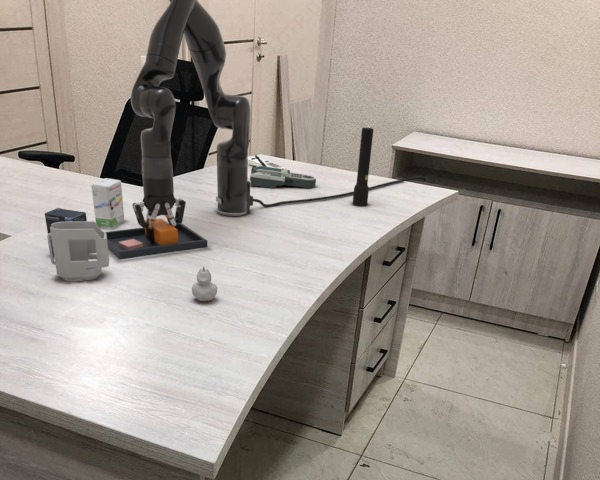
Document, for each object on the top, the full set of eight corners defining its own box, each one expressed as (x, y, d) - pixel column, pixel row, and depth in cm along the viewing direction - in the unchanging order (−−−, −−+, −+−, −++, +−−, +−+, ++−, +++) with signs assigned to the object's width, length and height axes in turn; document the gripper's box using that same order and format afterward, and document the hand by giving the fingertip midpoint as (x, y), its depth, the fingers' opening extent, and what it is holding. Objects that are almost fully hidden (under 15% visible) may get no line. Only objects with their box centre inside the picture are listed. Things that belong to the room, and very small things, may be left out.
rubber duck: (190, 304, 134) (189, 268, 130) (194, 292, 139) (193, 257, 135) (215, 305, 134) (215, 269, 130) (218, 293, 140) (218, 259, 135)
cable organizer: (110, 281, 142) (104, 228, 136) (52, 282, 139) (44, 229, 133) (110, 270, 148) (105, 220, 141) (55, 272, 145) (47, 220, 139)
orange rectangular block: (162, 235, 170) (161, 218, 168) (179, 246, 163) (178, 229, 160) (145, 237, 168) (143, 220, 165) (160, 249, 160) (159, 231, 158)
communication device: (315, 191, 224) (317, 166, 219) (249, 187, 223) (250, 161, 219) (315, 183, 234) (317, 159, 229) (252, 179, 234) (252, 154, 229)
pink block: (133, 242, 164) (133, 238, 163) (143, 246, 161) (143, 243, 161) (118, 245, 161) (118, 242, 161) (128, 250, 159) (128, 246, 158)
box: (50, 256, 154) (43, 212, 148) (64, 249, 158) (58, 207, 153) (78, 260, 152) (72, 217, 146) (91, 253, 157) (86, 211, 151)
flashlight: (349, 203, 212) (360, 207, 209) (356, 127, 199) (368, 129, 196) (359, 201, 215) (370, 205, 212) (367, 126, 202) (378, 129, 199)
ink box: (111, 229, 174) (107, 186, 168) (95, 227, 175) (90, 184, 169) (125, 221, 181) (121, 179, 175) (109, 219, 182) (105, 177, 176)
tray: (181, 231, 176) (181, 222, 175) (207, 249, 164) (207, 240, 163) (98, 241, 165) (97, 232, 163) (120, 261, 153) (119, 252, 152)
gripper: (135, 179, 150) (140, 248, 159) (190, 175, 157) (192, 241, 166) (124, 173, 155) (130, 240, 164) (178, 169, 162) (181, 233, 171)
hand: (161, 240), depth 165 cm, fingers closed on orange rectangular block, 5 cm apart
